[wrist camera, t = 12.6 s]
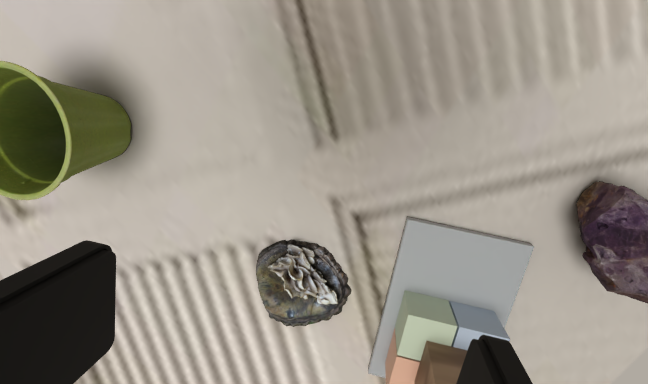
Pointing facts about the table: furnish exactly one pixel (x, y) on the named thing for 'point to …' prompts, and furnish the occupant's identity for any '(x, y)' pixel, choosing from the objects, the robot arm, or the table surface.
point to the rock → (616, 238)
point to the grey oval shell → (300, 283)
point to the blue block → (475, 324)
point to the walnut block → (440, 364)
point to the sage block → (423, 324)
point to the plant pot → (53, 132)
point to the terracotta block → (399, 366)
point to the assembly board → (451, 274)
